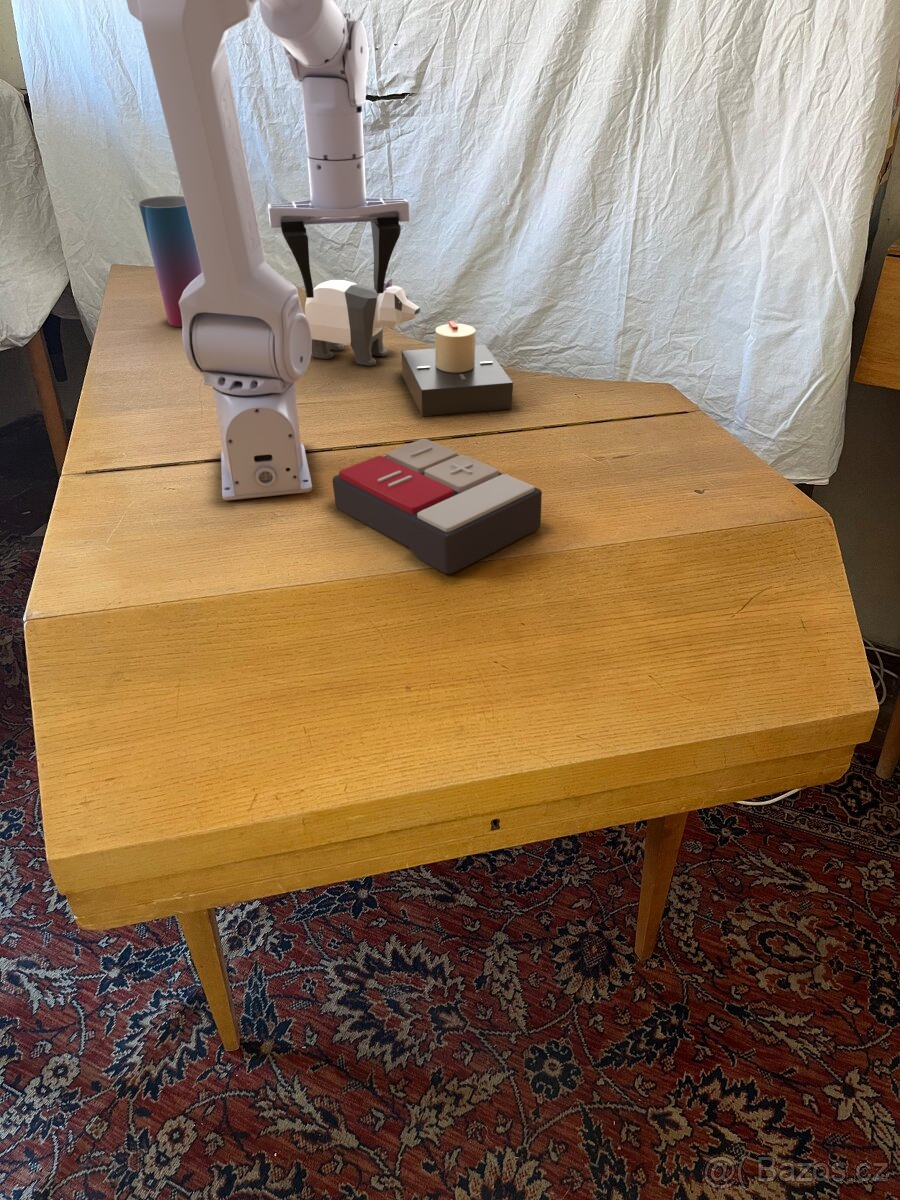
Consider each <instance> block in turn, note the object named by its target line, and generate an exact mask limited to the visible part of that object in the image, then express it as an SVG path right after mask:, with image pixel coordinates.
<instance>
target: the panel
mask: <svg viewBox="0 0 900 1200" xmlns="http://www.w3.org/2000/svg"><path fill="white" fill-rule="evenodd" d="M401 376H402V378H403V380H404V383H405V384H406V386H407V389H408V390H409V392H410V394H411V397H412V398H413V400H414V403H415V404H416V407H417V409H418V411H419V413H420V415H421V417H432V416H445V415H454V414H466V413H477V412H478V413H479V412H480V413H481V412H489V411H501V410H503V411H504V410H511V409H512V408H513V391H514V390H513V389H514V382H513V381H512V379H511V378H510V377H509V375H508V374H507V373H506V371H505V370H504V369H503V367H502V366H501V365H500V363H499V362H498V361H497V359H496V357H494V355H493V354H492V353H491V352H490V349H489V348H488V347H487V346H486V344H477V345H476V344H475V366H474V368H473V369H471V370H469V371H466V372H459V373H452V372H445V371H442V370H439V369H438V368H437V367H436V365H435V348H434V347H433V348H420V349H405V350H401Z"/></svg>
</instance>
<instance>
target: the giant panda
mask: <svg viewBox="0 0 900 1200" xmlns="http://www.w3.org/2000/svg"><path fill="white" fill-rule="evenodd" d="M313 295H314V297H313V298H307V296H306V295H305V300H304V303H305V304H304V315H305V317H306V318H307V320H308V322H309V325H310V329H311V335H312V352H311V355H312V357H314V358H317V359H325V360H329V359H332V358H333V357H334V354H333V352H332V351H342V350H344V349H345V346H344V345H349V346H350V347H351V349H352V352H353V354H354V355H353V356H354V361H355V364H357V365H362V366H369V367H372V366H375V365H376V363H377V360H376V358H374V357H373V356H377V357H385V356H388V349H386V348H385V347H384V341H383V339H384V328H395V327H398V326H399V325H402V323H406V322H409V321H412V320H414V319H415V318H416V317H417V315H418V314H420V312H421V307H420V306H418V305H417V304H415V303H413V302H412V301H411V300H409V299H408V298H409V297H408V295H406V293H405V290H404V288H403V287H400V286H398V285H393V279H392V278H390V279H388V280H387V282H384V290H383V293H377V292H376V290H375V289H374V287H369V286H366V285H362V284H359V283H355V282H352V281H349V280H343V279H330V280H328V281H324V282H321V283H319V284H317V285H316V287H313ZM330 350H332V351H330Z"/></svg>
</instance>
